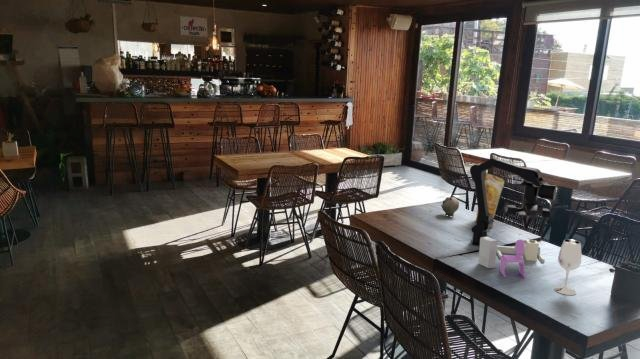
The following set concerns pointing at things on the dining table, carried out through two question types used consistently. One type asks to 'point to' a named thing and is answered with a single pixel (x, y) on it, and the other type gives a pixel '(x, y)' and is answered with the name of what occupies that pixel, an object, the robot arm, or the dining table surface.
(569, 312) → the dining table surface
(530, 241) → the cream rectangular block
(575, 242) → the wineglass
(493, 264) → the skincare box
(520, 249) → the toy chair
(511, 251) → the white post rack
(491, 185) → the pancake mix bag
